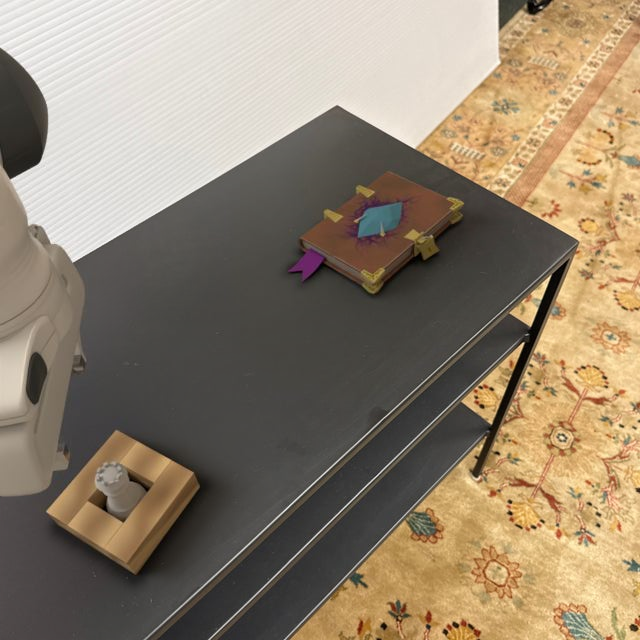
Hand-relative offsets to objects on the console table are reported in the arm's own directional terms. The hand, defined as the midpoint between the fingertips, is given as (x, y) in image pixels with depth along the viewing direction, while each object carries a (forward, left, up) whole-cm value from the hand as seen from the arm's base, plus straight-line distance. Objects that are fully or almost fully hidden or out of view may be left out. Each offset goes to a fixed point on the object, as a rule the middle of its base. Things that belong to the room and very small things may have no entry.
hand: (68, 412), depth 56 cm
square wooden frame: (0, 0, -19) cm, 19 cm away
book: (+18, +45, -19) cm, 52 cm away
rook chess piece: (0, 0, -19) cm, 19 cm away
